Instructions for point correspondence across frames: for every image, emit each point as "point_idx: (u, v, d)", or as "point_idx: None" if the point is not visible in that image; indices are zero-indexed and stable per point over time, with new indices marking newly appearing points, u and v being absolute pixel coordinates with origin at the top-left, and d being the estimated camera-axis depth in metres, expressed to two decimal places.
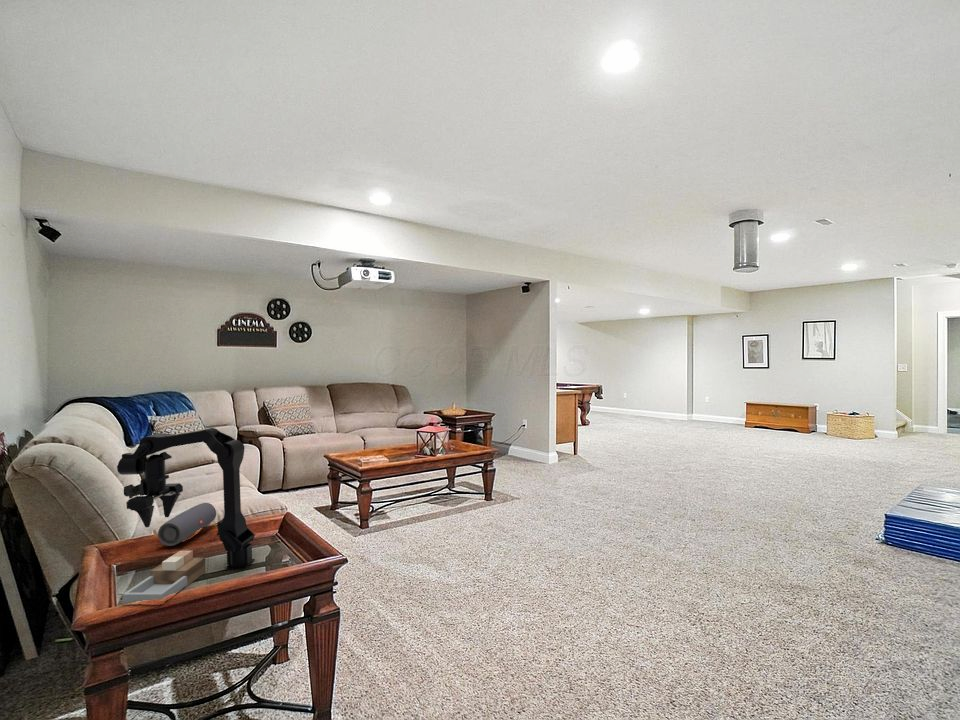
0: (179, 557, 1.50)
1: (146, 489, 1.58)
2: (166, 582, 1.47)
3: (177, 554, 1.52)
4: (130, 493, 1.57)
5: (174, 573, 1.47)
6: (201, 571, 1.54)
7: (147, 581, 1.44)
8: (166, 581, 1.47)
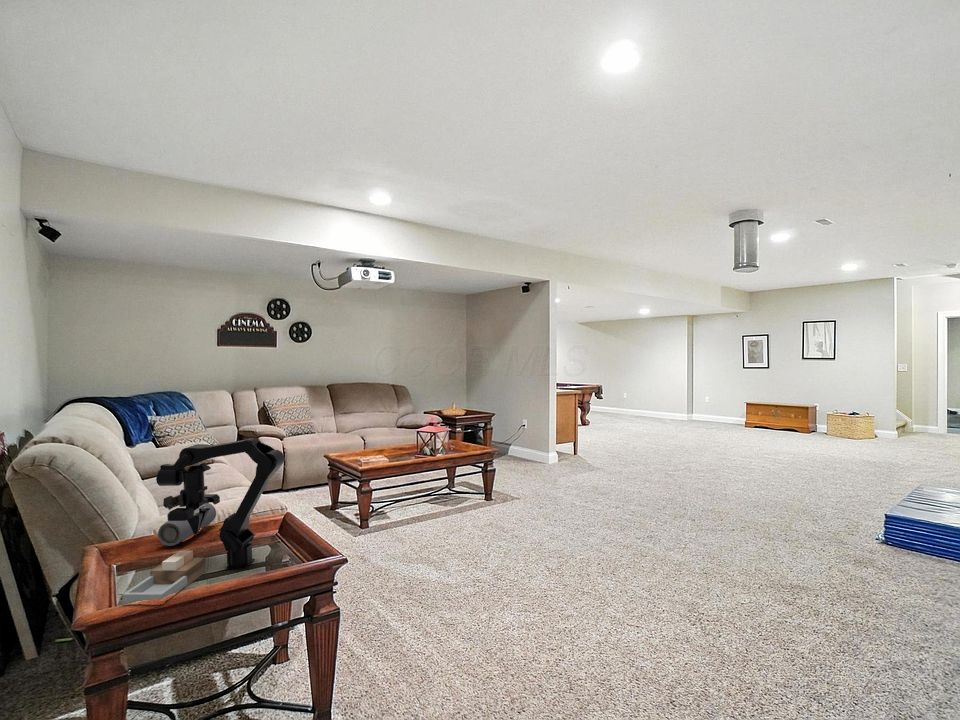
0: (179, 557, 1.50)
1: (186, 500, 1.57)
2: (166, 582, 1.47)
3: (177, 554, 1.52)
4: (170, 504, 1.56)
5: (174, 573, 1.47)
6: (201, 571, 1.54)
7: (147, 581, 1.44)
8: (166, 581, 1.47)
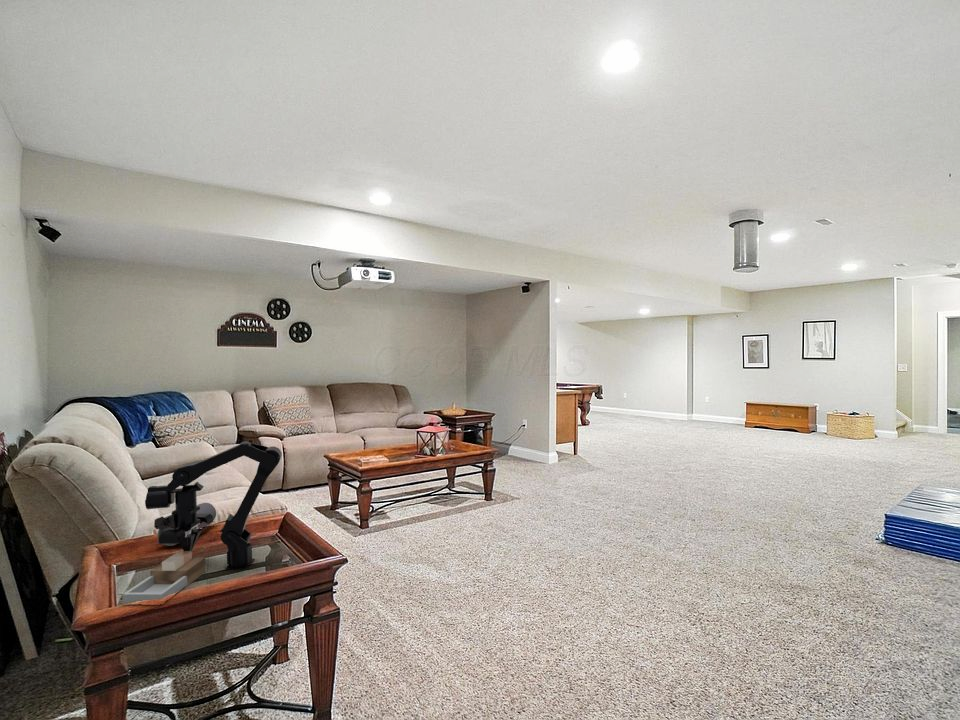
0: (179, 557, 1.50)
1: (177, 522, 1.53)
2: (166, 582, 1.47)
3: (176, 555, 1.52)
4: (161, 526, 1.52)
5: (174, 573, 1.47)
6: (201, 571, 1.54)
7: (147, 581, 1.44)
8: (166, 581, 1.47)
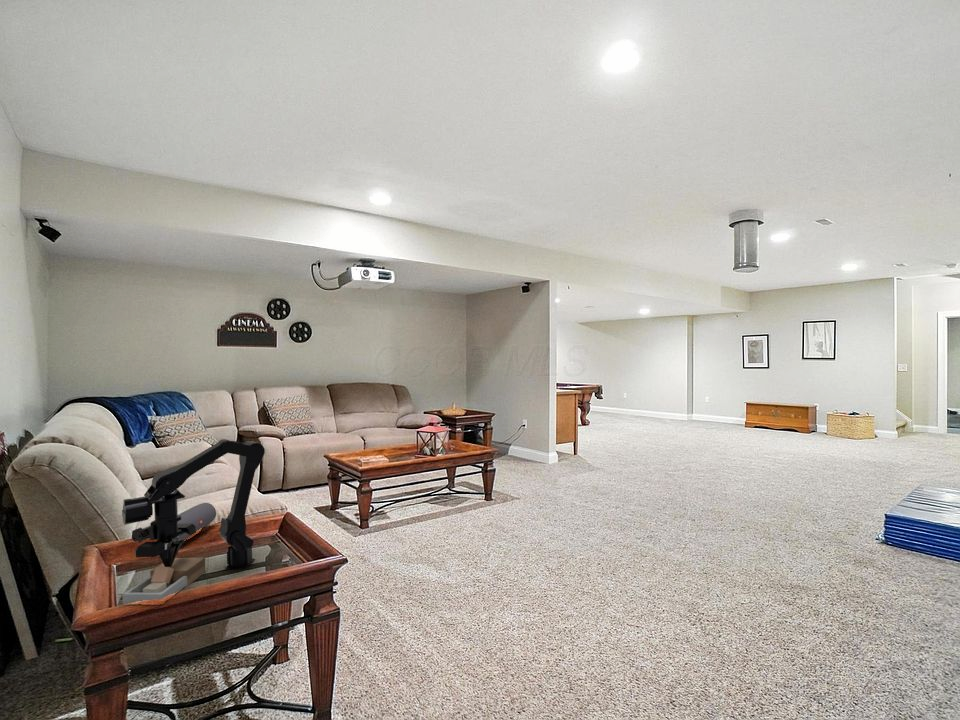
0: None
1: (156, 533, 1.44)
2: None
3: (155, 577, 1.43)
4: (139, 538, 1.42)
5: (174, 573, 1.47)
6: (201, 571, 1.54)
7: (147, 581, 1.44)
8: None
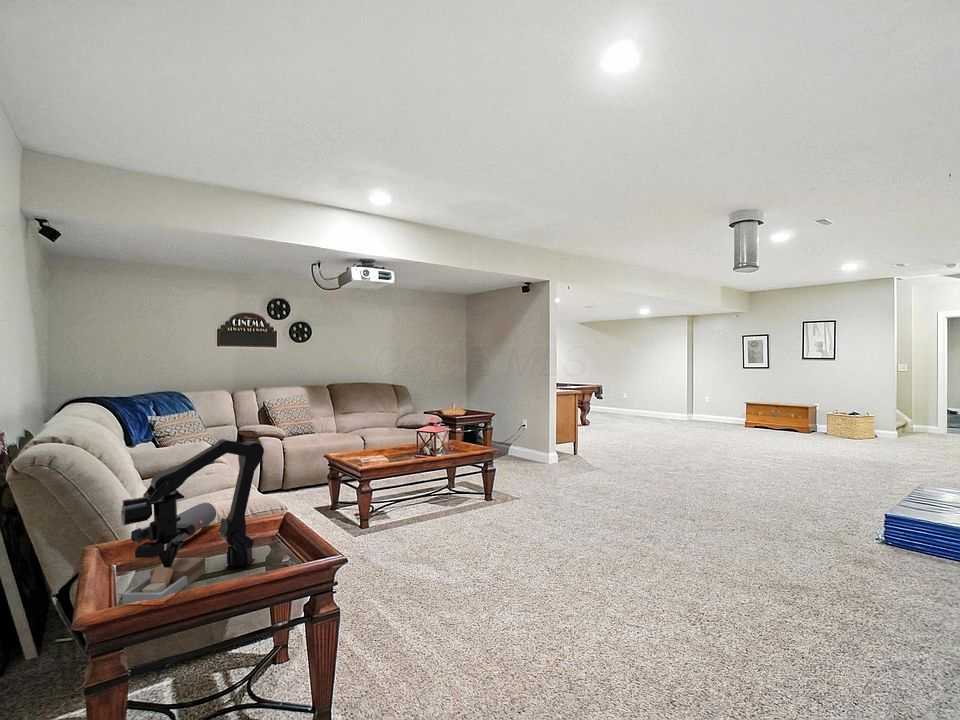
0: None
1: (156, 534, 1.43)
2: None
3: (155, 578, 1.43)
4: (138, 538, 1.42)
5: (174, 573, 1.47)
6: (201, 571, 1.54)
7: (147, 581, 1.44)
8: None
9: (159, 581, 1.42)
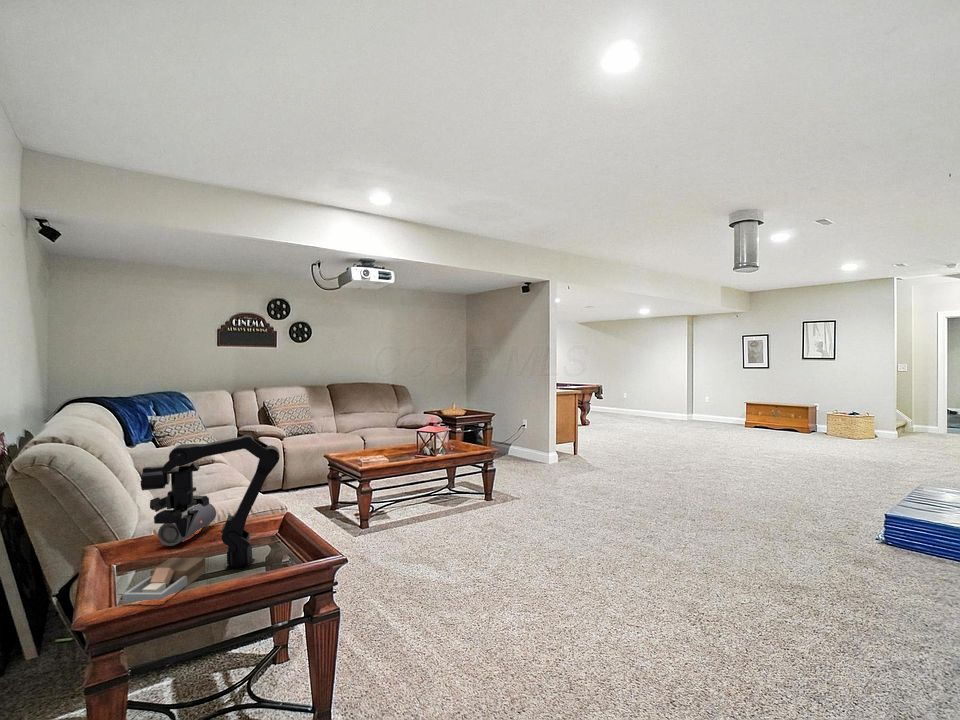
0: None
1: (173, 502, 1.51)
2: None
3: (155, 578, 1.43)
4: (157, 506, 1.50)
5: (174, 573, 1.47)
6: (201, 571, 1.54)
7: (147, 581, 1.44)
8: None
9: (159, 581, 1.42)
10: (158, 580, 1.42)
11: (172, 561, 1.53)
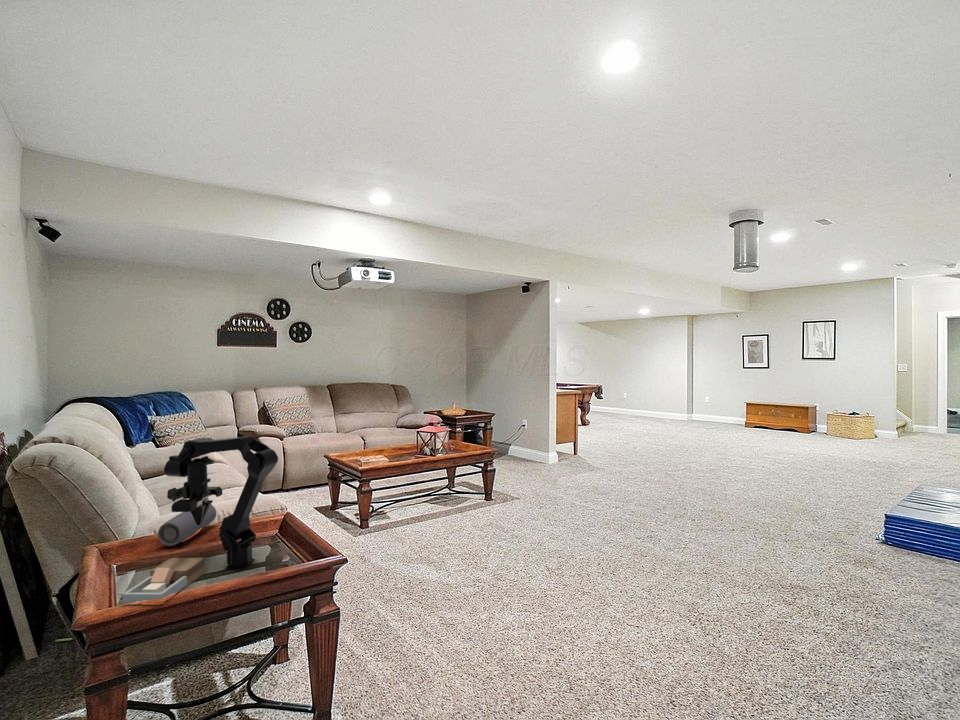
0: None
1: (189, 492, 1.61)
2: None
3: (155, 578, 1.43)
4: (174, 496, 1.59)
5: (174, 573, 1.47)
6: (201, 571, 1.54)
7: (147, 581, 1.44)
8: None
9: (159, 581, 1.42)
10: (158, 580, 1.42)
11: (172, 561, 1.53)
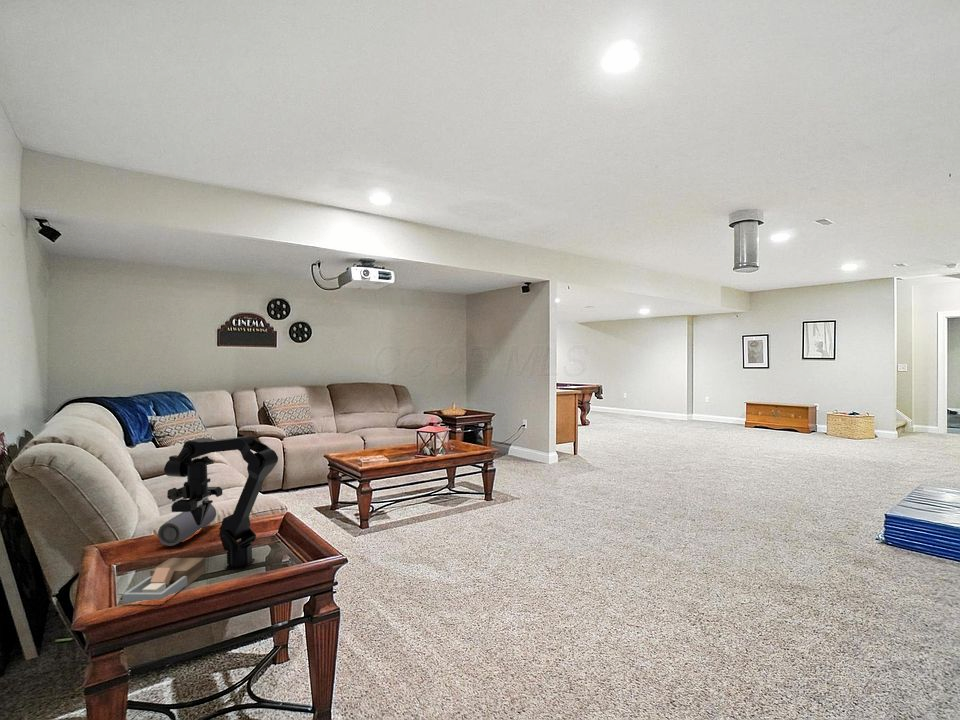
0: None
1: (189, 492, 1.61)
2: None
3: (155, 578, 1.43)
4: (174, 496, 1.59)
5: (174, 573, 1.47)
6: (201, 571, 1.54)
7: (147, 581, 1.44)
8: None
9: (159, 581, 1.42)
10: (158, 580, 1.42)
11: (172, 561, 1.53)
